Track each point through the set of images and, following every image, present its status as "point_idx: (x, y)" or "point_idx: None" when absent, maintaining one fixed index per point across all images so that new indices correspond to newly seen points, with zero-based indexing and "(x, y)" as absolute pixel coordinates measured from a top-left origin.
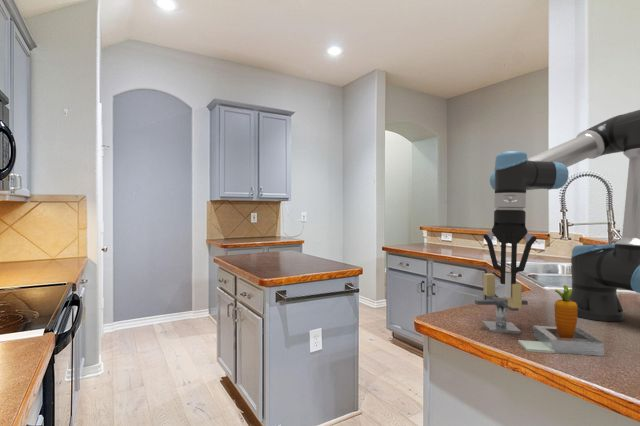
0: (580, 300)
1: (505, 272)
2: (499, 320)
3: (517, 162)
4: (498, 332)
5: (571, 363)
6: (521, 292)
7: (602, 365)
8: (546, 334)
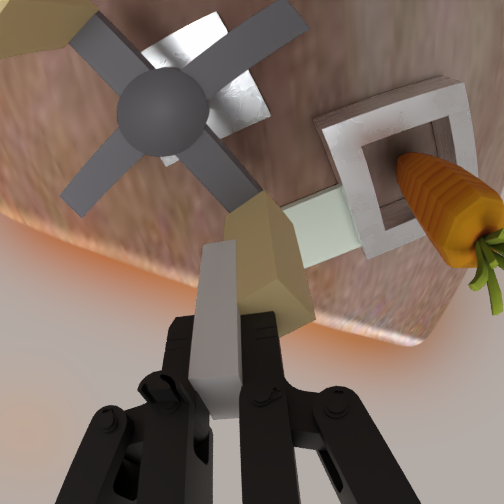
0: None
1: (209, 413)
2: None
3: None
4: None
5: (385, 278)
6: (305, 279)
7: None
8: (360, 218)
